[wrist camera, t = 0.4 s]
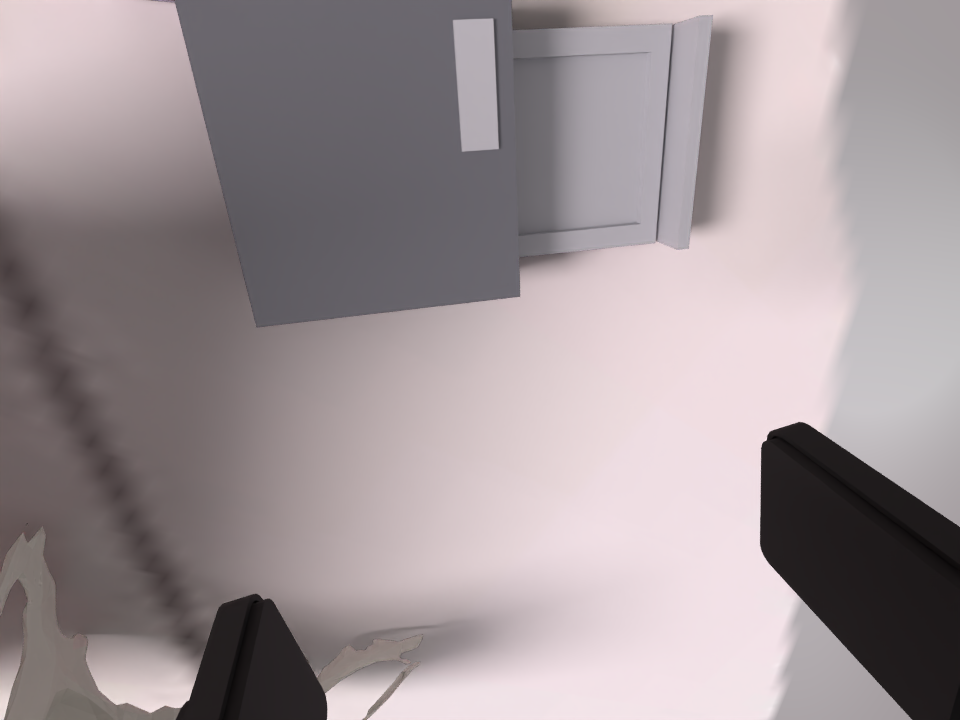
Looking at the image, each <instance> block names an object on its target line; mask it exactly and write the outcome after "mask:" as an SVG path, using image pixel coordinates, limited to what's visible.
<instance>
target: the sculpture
mask: <svg viewBox="0 0 960 720" xmlns="http://www.w3.org/2000/svg"><path fill="white" fill-rule="evenodd" d="M27 524H28V523H27ZM27 524H26V525H27ZM45 540H46V535H45V532H44V528H43V526H42V527H41V528H40V529H39V531H38V532H37V533H36V534H35V535H34V536H33V538H32V539H31V540H30V541H29V542H27V541H26V539H25V536H24V532H22V534H21V535H20V536H19V538H18V539H17V540H16V542H15V543H14V544H13V546H12V547H11V548H10V550H9V551H8V552H7V553H6V556H5V560H4V563H3V566H2V569H1V573H0V616H1V613H2V611H3V608H4V605H5V602H6V599H7V596H8V594H9V591H10V589H11V588H12V586H13V585H14V583H15V582H16V580H17V579H18V580H19V582H20V583H21V585H22V586H23V588H24V591H25V594H26V597H27V603H26V606H25V609H24V611H23V621H22V624H23V634H24V643H23V650H22V657H21V663H20V667H19V670H18V673H17V676H16V679H15V681H14V684H13V687H12V690H11V694H10V698H9V702H8V706H7V710H6V714H5V718H4V720H176V718H177V716H178V713H179V711H180V709H181V708H172V707H168V706H164V707H162V708H160V709H158V710H156V711H154V712H152V713H149V712H147V711H144V710H142V709H140V708H138V707H135V706H133V705H131V704H128V703H125V704H120V705H116V704H114V703H113V702H111V701H110V700H109V699H108V698H107V697H106V696H105V695H103V694H102V693H101V692H100V691H99V690H98V688H97V686H96V684H95V681H94V679H93V677H92V675H91V673H90V670H89V668H88V665H87V662H86V659H85V657H86V651H87V645H88V640H87V637H85V636H83V635H81V634H79V633H78V634H76V635H74V636H73V637H72V638H68V637H65V636H64V635H63V634H62V632H61V630H60V629H59V626H58V622H57V617H56V584H55V582H54V579H53V577H52V575H51V574H50V572H49V570H48V567H47V564H46V562H45V559H44V557H43V552H44V546H45ZM422 639H423V634H421V635H417V636H414V637H411V638H407V639H405V640H402V641H400V642H397V641H392V640H382V639H373V644H372V645H370V646H369V647H367V648H366V650H356V651H355V650H354V649H353V648H352V647H351V645H348V646H346V647H345V648H343V649H342V650H341V652H340V654H339V655H338V656H337V657H336V658H335V659H334V660H333V661H332V662H331V663H330V664H329V665H327V666H325V667H324V668H323V670H322V671H321V673H320V675H319V676H318V678H317V679H318V681H319V683H320V685H321V686H322V688H323V690H324V692H325V693H326V692H327V691H329V690H330V689H331V688H332V687H333V686H334V685H336V684H337V683H338V682H340V681H341V680H342V679H344V678H346V677H347V676H349V675H351V674H353V673H354V672H356V671H357V670H359V669H361V668H364V667H366V666H368V665H371V664H373V663H375V662H381V661H391V660H397V661H400V662H403V663H405V664H408V663H411V662H410V661H409V660H406V659H401V658H400V655H401V654H402V653H404V652H407V651H410V650H413V649H415V648H417V647H418V646H419V644H420V642H421V641H422ZM307 662H308V660H307ZM420 663H421V662H416V663H414V664H412V665H410V666H408V667H407V668H406V669H405V670H404V671H402V672H401V674H400V675H399V676H398V677H397V679H396V680H395V681H394V683H393V684H392V685H391V686H390V687H389V688H388V689H387V690H386V692H385V693H384V694H383V695H382V696H381V697H380V698H379V699H378V700H377V702H376V703H375V704H374V705H373V706H372V707H371V708H370V709H369V711H368V713H367V716H366V717H365V718H364V719H363V720H367V719H368V718H369V717H370V716H371V715H372V714H373V713H374V712H375V711H376V710H377V709H378V708H379V707H380V706H381V705H382V704H383V703H384V702H385V701H386V700H387V699H388V698H389V697H390V696H391V695H392V694H393V692H394V691H395V690H396V689H397V687H398V686H399V685H400V683H401V682H402V681H403V680H404V679H405V678H406V677H407V676H408V674H409V673H410V672H411V671H412V670H413V669H414V668H415V667H417V666H418V665H419V664H420ZM308 664H309V662H308Z"/></svg>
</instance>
